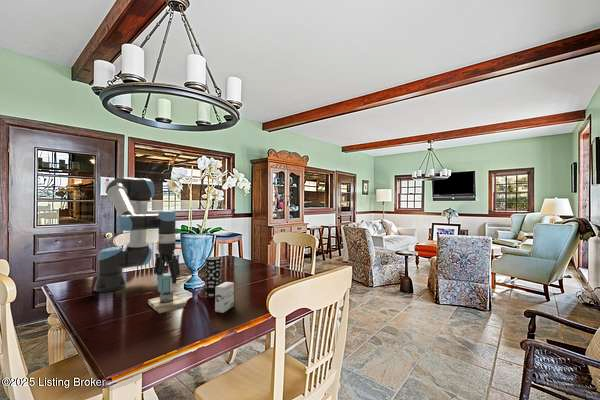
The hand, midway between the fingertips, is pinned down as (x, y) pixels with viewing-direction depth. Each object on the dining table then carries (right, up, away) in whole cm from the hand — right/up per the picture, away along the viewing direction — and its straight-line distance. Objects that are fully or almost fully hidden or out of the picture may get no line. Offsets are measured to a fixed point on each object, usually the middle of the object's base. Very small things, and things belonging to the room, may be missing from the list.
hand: (166, 288), depth 135 cm
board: (0, -8, 0) cm, 8 cm away
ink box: (+30, -8, -4) cm, 31 cm away
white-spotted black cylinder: (+18, -8, +14) cm, 25 cm away
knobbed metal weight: (0, -6, 0) cm, 6 cm away
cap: (0, 0, 0) cm, 0 cm away
